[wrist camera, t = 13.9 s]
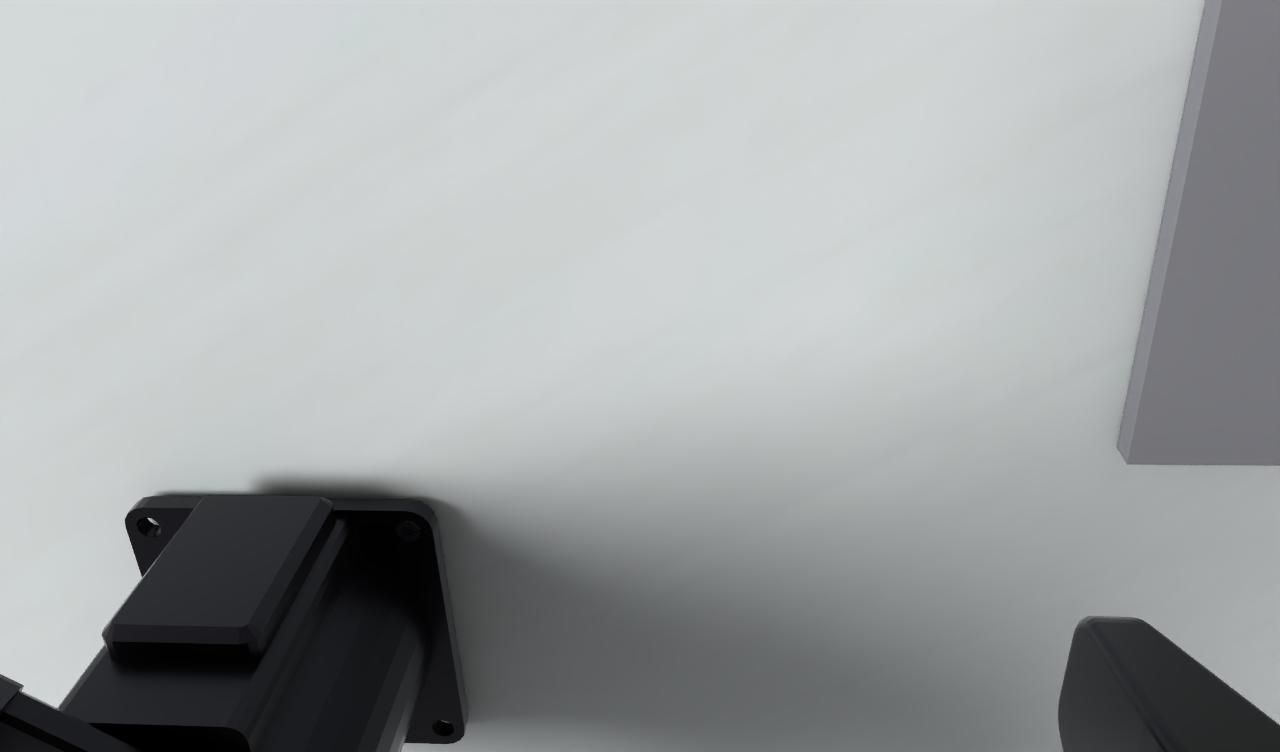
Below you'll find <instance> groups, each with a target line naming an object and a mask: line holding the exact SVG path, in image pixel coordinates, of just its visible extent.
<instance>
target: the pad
mask: <svg viewBox="0 0 1280 752" xmlns="http://www.w3.org/2000/svg"><path fill="white" fill-rule="evenodd" d="M1117 448H1118V450H1119V451H1120V453H1121V455H1122V457H1123V458H1124V460H1125V462H1126V464H1156V465H1277V466H1280V0H1205V5H1204V10H1203V15H1202V20H1201V25H1200V30H1199V35H1198V40H1197V45H1196V50H1195V55H1194V60H1193V65H1192V70H1191V75H1190V80H1189V85H1188V90H1187V95H1186V100H1185V105H1184V111H1183V116H1182V121H1181V126H1180V131H1179V136H1178V141H1177V146H1176V151H1175V156H1174V161H1173V166H1172V171H1171V176H1170V181H1169V186H1168V191H1167V196H1166V201H1165V206H1164V211H1163V217H1162V222H1161V227H1160V232H1159V237H1158V242H1157V247H1156V252H1155V257H1154V262H1153V267H1152V272H1151V277H1150V282H1149V287H1148V292H1147V297H1146V302H1145V307H1144V312H1143V318H1142V323H1141V328H1140V333H1139V338H1138V343H1137V348H1136V353H1135V358H1134V363H1133V368H1132V373H1131V378H1130V383H1129V388H1128V393H1127V398H1126V403H1125V408H1124V413H1123V418H1122V424H1121V429H1120V434H1119V439H1118V444H1117Z"/></svg>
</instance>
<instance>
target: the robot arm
mask: <svg viewBox="0 0 1280 752" xmlns="http://www.w3.org/2000/svg"><path fill="white" fill-rule="evenodd" d="M148 518H152V519H153V520H155V521H156V522H158V524H159V525H160V526H158V525H154V524H153V523H152V522H150V521H149V520H148ZM403 521H410V522H414V523H415V524H416V525H418V526H419V528H420V529H416V530H415V529H410V528H408V527H407V526H405V525H404V524H403ZM125 525H126V529H127V532H128V536H129V539H130V542H131V545H132V548H133V551H134V554H135V557H136V560H137V563H138V566H139V569H140V572H141V575H142V579H141V580H140V581H139V583H138V584H137V585H136V587H135V588H134V589H133V591H132V592H131V593H130V595H129V596H128V597H127V599H126V600H125V601H124V603H123V604H122V605H121V607H120V608H119V609H118V611H117V612H116V613H115V615H114V616H113V617H112V619H111V620H110V621H109V623H108V624H107V625H106V627H105V628H104V630H103V632H102V637H103V640H104V643H105V644H104V646H103V647H102V649H101V650H100V651H99V653H98V654H97V655H96V657H95V658H94V659H93V661H92V662H91V663H90V665H89V666H88V668H87V669H86V670H85V672H84V673H83V674H82V676H81V677H80V678H79V680H78V681H77V682H76V684H75V685H74V687H73V688H72V689H71V691H70V692H69V693H68V695H67V696H66V697H65V699H64V700H63V701H62V703H61V704H60V705H59V707H58V708H55V707H53V706H51V705H49V704H47V703H45V702H43V701H41V700H39V699H36V698H34V697H32V696H30V695H28V694H26V693H24V692H22V689H23V687H24V685H22V684H19V683H17V682H15V681H13V680H11V679H9V678H7V677H5V676H3V675H1V674H0V752H401V750H402V747H403V744H404V743H430V744H450V743H455V742H457V741H459V740H461V738H462V737H463V736H464V733H465V730H466V726H467V723H468V716H469V715H468V709H467V703H466V696H465V690H464V684H463V677H462V671H461V665H460V658H459V652H458V646H457V639H456V633H455V627H454V621H453V614H452V608H451V602H450V595H449V589H448V583H447V576H446V570H445V564H444V557H443V551H442V545H441V539H440V532H439V526H438V520H437V517H436V515H435V512H434V511H433V510H432V509H431V508H430V507H429V506H428V505H426V504H424V503H423V502H421V501H417V500H411V499H337V498H322V497H319V496H258V495H207V496H205V497H166V496H151V497H145V498H142V499H141V500H139V501H138V502H137V503H136V504H135V505H134V507H133V508H132V509H131V510H130V511H129V513H128V514H127V516H126V519H125ZM441 720H445V721H448V722H450V723H446V722H442V721H441ZM1058 722H1059V731H1060V737H1061V742H1062V747H1063V752H1280V725H1279V724H1278V723H1276V722H1275V721H1274V720H1273V719H1271V718H1270V717H1269V716H1267V715H1266V714H1265V713H1264V712H1262V711H1261V710H1260V709H1258V708H1257V707H1256V706H1254V705H1253V704H1252V703H1251V702H1249V701H1248V700H1247V699H1245V698H1244V697H1243V696H1242V695H1240V694H1239V693H1238V692H1236V691H1235V690H1234V689H1232V688H1231V687H1230V686H1229V685H1227V684H1226V683H1225V682H1223V681H1222V680H1221V679H1219V678H1218V677H1217V676H1216V675H1214V674H1213V673H1212V672H1210V671H1209V670H1208V669H1207V668H1205V667H1204V666H1203V665H1201V664H1200V663H1199V662H1197V661H1196V660H1195V659H1194V658H1192V657H1191V656H1190V655H1188V654H1187V653H1186V652H1185V651H1183V650H1182V649H1181V648H1179V647H1178V646H1177V645H1175V644H1174V643H1173V642H1172V641H1170V640H1169V639H1168V638H1166V637H1165V636H1164V635H1162V634H1161V633H1160V632H1159V631H1157V630H1156V629H1155V628H1153V627H1152V626H1151V625H1149V624H1148V623H1146V622H1145V621H1143V620H1141V619H1138V618H1132V617H1104V616H1088V617H1086V618H1084V619H1082V620H1081V621H1080V622H1079V623H1078V625H1077V627H1076V629H1075V631H1074V635H1073V639H1072V644H1071V648H1070V653H1069V657H1068V662H1067V667H1066V671H1065V676H1064V680H1063V685H1062V689H1061V694H1060V699H1059V708H1058Z"/></svg>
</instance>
